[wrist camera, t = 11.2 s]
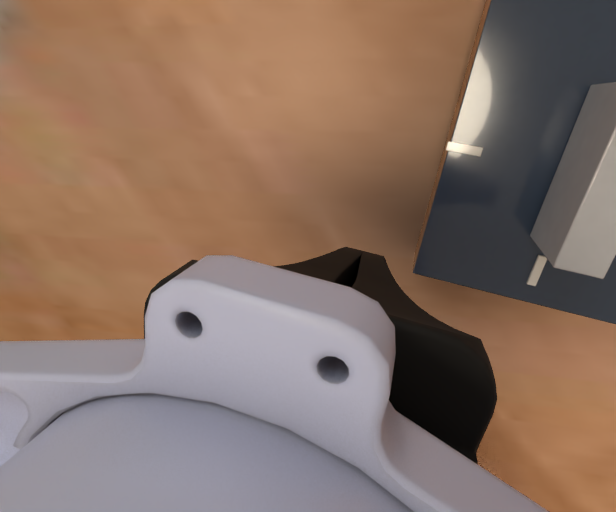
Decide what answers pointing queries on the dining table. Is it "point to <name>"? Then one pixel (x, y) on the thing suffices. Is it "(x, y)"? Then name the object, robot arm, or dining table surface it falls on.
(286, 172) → the dining table surface
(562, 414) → the dining table surface
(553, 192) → the tap lever
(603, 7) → the base
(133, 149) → the dining table surface
